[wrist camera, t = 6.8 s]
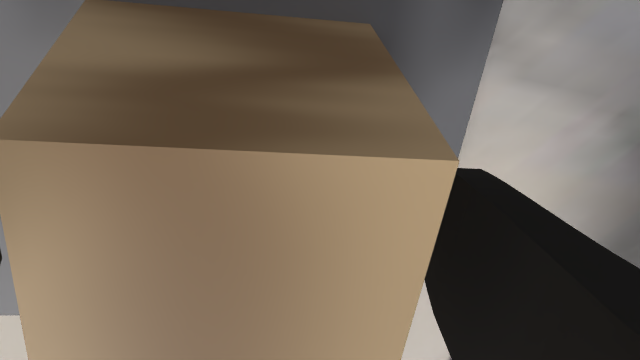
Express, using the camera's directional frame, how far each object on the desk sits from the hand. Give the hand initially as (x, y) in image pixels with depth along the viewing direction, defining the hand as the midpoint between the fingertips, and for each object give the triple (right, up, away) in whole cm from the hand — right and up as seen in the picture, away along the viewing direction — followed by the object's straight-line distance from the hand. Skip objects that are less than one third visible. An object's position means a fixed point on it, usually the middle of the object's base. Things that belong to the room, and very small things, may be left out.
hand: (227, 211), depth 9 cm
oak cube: (0, +1, +2) cm, 3 cm away
